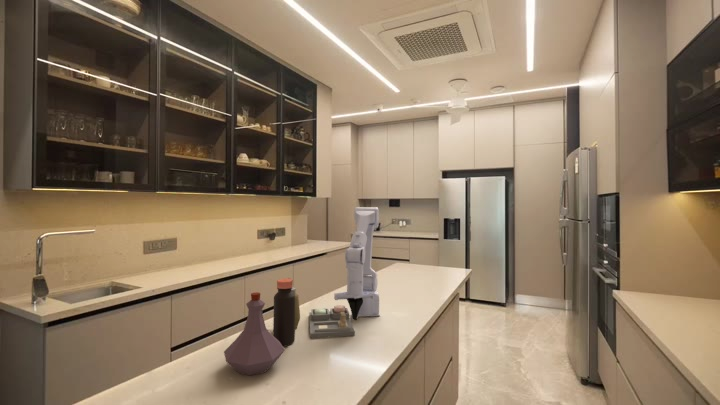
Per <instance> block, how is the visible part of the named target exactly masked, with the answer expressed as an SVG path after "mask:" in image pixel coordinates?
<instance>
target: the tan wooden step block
mask: <svg viewBox="0 0 720 405" xmlns="http://www.w3.org/2000/svg"><path fill="white" fill-rule="evenodd" d="M338 325H339V327H348V325H347V322H346V315H345V312H340V322H338Z"/></svg>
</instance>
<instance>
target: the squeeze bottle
mask: <svg viewBox="0 0 720 405" xmlns="http://www.w3.org/2000/svg"><path fill="white" fill-rule="evenodd" d="M287 279H291V280H292V277H287ZM291 291H292V292H293V293H294V294H295V330H296V329H298V326H299V322H300V320H301V311H300V300H299V294H298V293H297V288H296V286H295V287H294V286H293V287H292V289H291Z"/></svg>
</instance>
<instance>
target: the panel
mask: <svg viewBox="0 0 720 405" xmlns="http://www.w3.org/2000/svg"><path fill="white" fill-rule="evenodd" d="M316 309H317V308H312V309H311V310H310V312H308V314H309V319H308V320H309V335H310V336H309V337H310V339H321V338H324V339H325V338H339V337H355V335H356V333H355V332H356V330H355V328H354V327H353V326H354V325H353V324H352V321H351V319H350V312H349V310H348V307H345V315H346V322H347V325H348V327H339V325H338V322H340V314H335V313H334V307H332V308H330V311H329V308H324V309H325V310H326V314H317V315H314V311H315V310H316Z"/></svg>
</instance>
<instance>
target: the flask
mask: <svg viewBox="0 0 720 405" xmlns="http://www.w3.org/2000/svg"><path fill="white" fill-rule="evenodd" d="M250 298H251V299H250V300H249V301H247V303H245V305H246V308H247V309H248V312H247V314H248V315H247V319H246V321H245V326H244V327H243V328H244V329H243V330H242V331H241V332H240V334H239V335H238V336H237V338H236V339H235V340H234V341H232V343H231V344H230V345H229V346H228V347H227V348H226V349H225V350H224V351H223V354H224V358H225V361H226V362H225V363H227V364H228V365H229V366H230V367H232V368H233V370H235V371H236V372H237V374H241V373H242V374H241V375H248V376H254V375H258V373H259V374H263V373H266V372H267V371H268V370H269V369H270V368H272V366H273V365H274V364H275V363H276V362H277V360H279V358H280V357H281V356H282V355H283V353H284V352H285V351H286V349H285V346H282V344H281V343H280V342H279V341H278V340H277V339H276V338H275V337H274V336H273V334H272V333H271V332H270V331H269V330H268V329H267V326H266V323H265V319H264V315H263V310H264V306H265V305H266V302H264V301H263V300H262V299H261V292H251V293H250ZM253 374H254V375H253Z"/></svg>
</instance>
